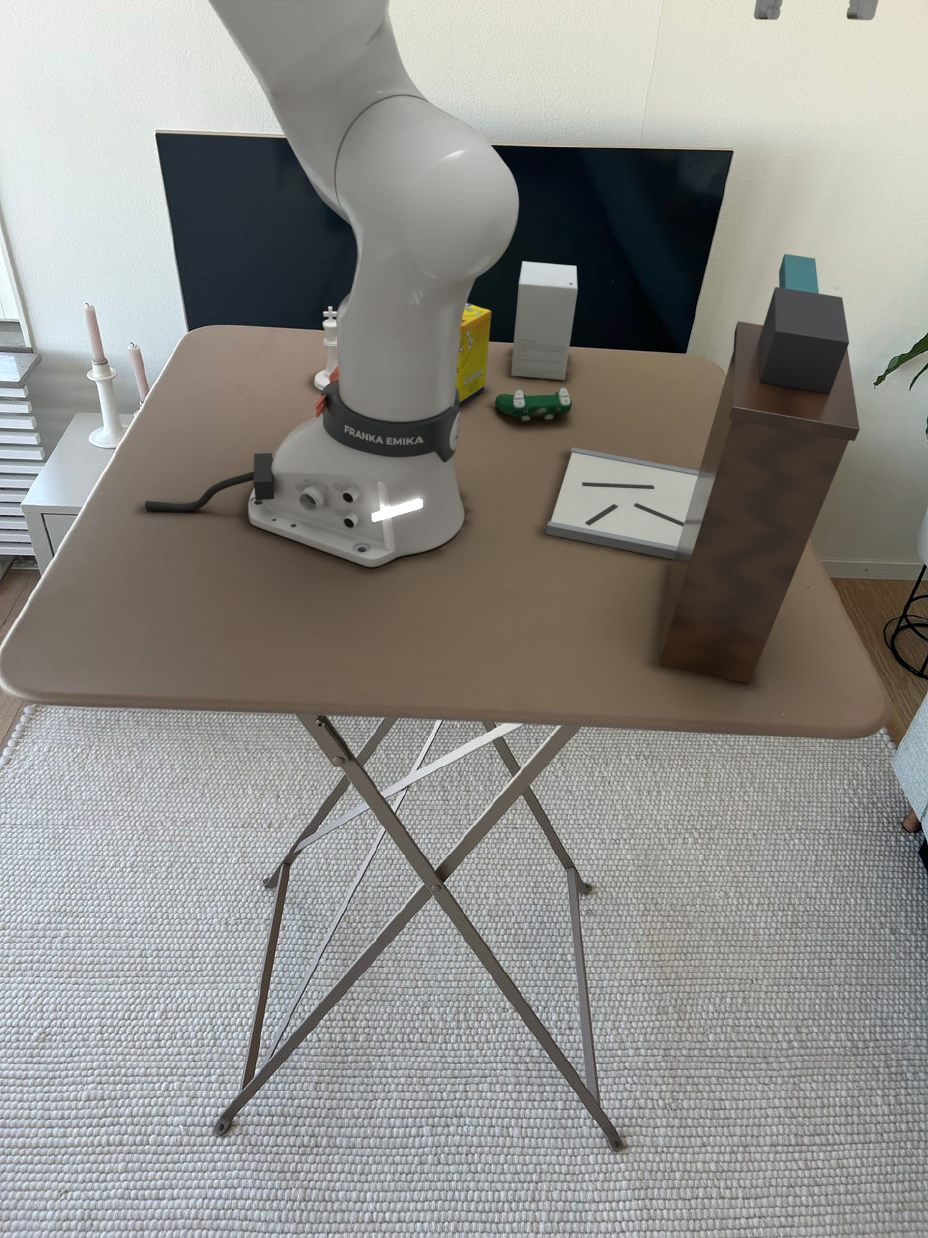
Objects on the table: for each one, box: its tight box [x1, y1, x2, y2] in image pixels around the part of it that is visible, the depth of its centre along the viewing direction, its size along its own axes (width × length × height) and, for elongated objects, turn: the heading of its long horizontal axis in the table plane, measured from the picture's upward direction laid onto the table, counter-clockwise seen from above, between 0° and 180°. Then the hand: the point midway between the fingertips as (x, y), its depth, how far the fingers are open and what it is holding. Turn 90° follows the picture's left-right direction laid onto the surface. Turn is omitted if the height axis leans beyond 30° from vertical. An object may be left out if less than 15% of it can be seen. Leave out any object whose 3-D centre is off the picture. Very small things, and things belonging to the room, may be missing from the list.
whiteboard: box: [545, 447, 699, 561], centre depth 96 cm, size 18×16×1 cm
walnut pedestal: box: [658, 320, 861, 685], centre depth 75 cm, size 9×15×26 cm, turn 166°
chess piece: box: [313, 306, 338, 391], centre depth 109 cm, size 5×5×10 cm
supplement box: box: [456, 301, 492, 408], centre depth 109 cm, size 6×6×11 cm
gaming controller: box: [494, 387, 573, 422], centre depth 108 cm, size 9×4×6 cm
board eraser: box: [760, 253, 850, 394], centre depth 69 cm, size 5×19×4 cm, turn 166°
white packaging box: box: [511, 260, 579, 381], centre depth 115 cm, size 7×7×13 cm
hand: (810, 19), depth 75 cm, fingers open, 8 cm apart
